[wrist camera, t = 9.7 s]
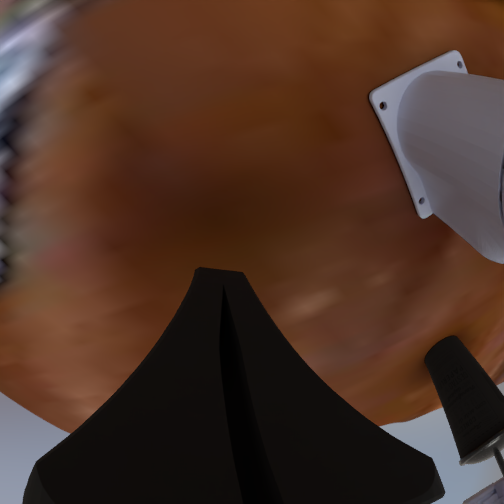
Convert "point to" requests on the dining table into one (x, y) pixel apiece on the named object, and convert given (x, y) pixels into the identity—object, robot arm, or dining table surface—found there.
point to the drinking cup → (468, 401)
